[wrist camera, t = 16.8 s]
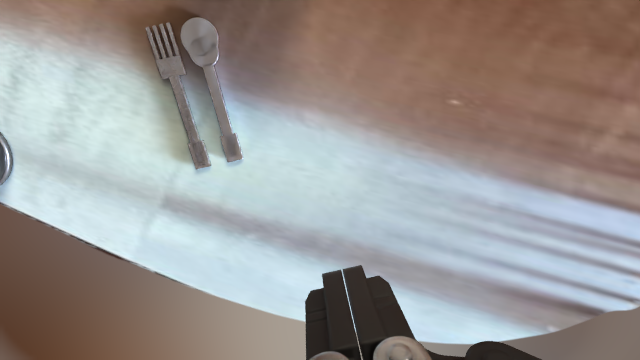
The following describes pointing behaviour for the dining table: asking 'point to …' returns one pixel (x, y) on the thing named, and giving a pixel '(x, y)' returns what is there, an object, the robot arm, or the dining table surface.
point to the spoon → (211, 75)
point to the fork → (178, 89)
